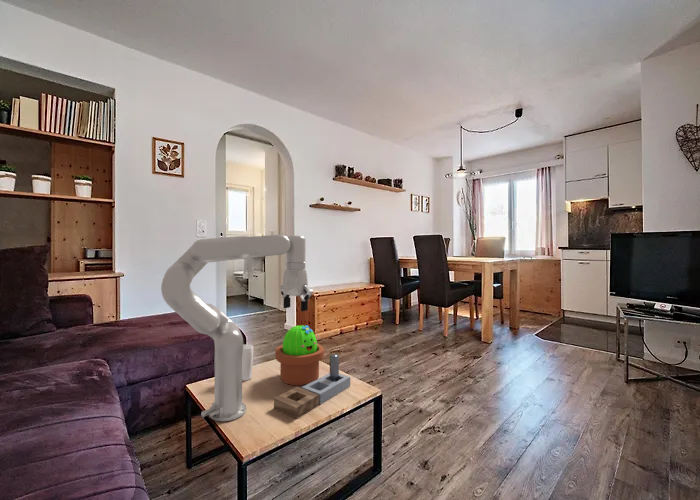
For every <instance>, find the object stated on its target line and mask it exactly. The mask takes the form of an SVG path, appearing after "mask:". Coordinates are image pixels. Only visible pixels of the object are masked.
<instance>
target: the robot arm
mask: <svg viewBox="0 0 700 500" xmlns="http://www.w3.org/2000/svg"><path fill="white" fill-rule="evenodd" d="M281 255H286V257H285V258H286V259H285V261H286V263H285V267H286V268H285V270H284V272H283V277H282V285H280V286H279V290H280V294H281V295H282V299H283V309H288V308H291V296H293V297H300V299H301V301H300V312H307V311H308V310H309V309H308V307H309V305H308V304H309V302H308V301H309V300H310V298H311V297H312V295H313V289H312V288H310V287H309V286H308V285H309V282H308V273H307V270H306V238H305V236H303V235H289V236H287V235H285V234H271V235H256V236H253V235H252V236H246V235H242V236H241V235H240V236H238V235H237V236H227V237H211V238H201V239H198V240H196V241H194V242H193V244H192V245H191V246H190V247H189V248H188V249H187V250H186V251H185V252H184V253H183V254H182V255H181V256H180V257H179V258H178V259H177V260H176V261H175V262H174V263H173V264H172V265H170V266H169V267H168V268H167V270H166V271H165V273H164V275H163V278H162V280H161V288H160V290H161V296H162V298H163V300H164V302H165V303H166V304H167V305H168V306H169V307H170V309H172V310H173V311H174V312H175V313H176V314H177V315H178V316H179V317H181V318H182V319H183V320H184V321H185V322H187V324H189V325H190V326H191V328H193V329H194V330H195V331H196V332H197V333H200V334H202V335H207V336H208V337H210V339H212V340H213V343H214V402H212V403H211V406H210V407H209V408H208V409H205V410H203V411H201V417H202V418H205V417H207V416H208V417H209V418H210V419H211V420H212V421H215V422H229V421H235V420H237V419H239V418H241V417H242V416H244V414H245V413H246V412H247V405H246V403H244V402H243V381H242V355H243V345H244V338H243V334H242V332H241V330H240V328H239V327H238V325H237V324H236V323H235V322H234V321H232V320H231V319H230V318H229V317H228V316H227V315H226V314H225V313H223V312H222V310H220V308H218V307H216V306H215V305H214V304H212V303H207V302H205V301H204V300H202V298H201V297H200V296H199V295H197V294H196V293H195V292H194V291H193V290H192V288H191V283H192V281H193V279H194V278H195V277H196V276H197V274H199V273H200V272H201V270H202V269H203V268H204V267H205V266H206V265H207V264H208V263H215V262H224V261H235V260H236V261H237V260H246V259H252V258H253V259H254V258H258V257H259V258H262V257H263V258H264V257H273V256H281Z"/></svg>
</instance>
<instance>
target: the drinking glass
mask: <svg viewBox="0 0 700 500" xmlns="http://www.w3.org/2000/svg"><path fill="white" fill-rule="evenodd" d="M253 359H254V345H252V344H250V343H247V344H245V343H244V344H243V355H242V382H245V381H249V380H251V379H252V375H253V374H252V372H253V362H254V361H253Z"/></svg>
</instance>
